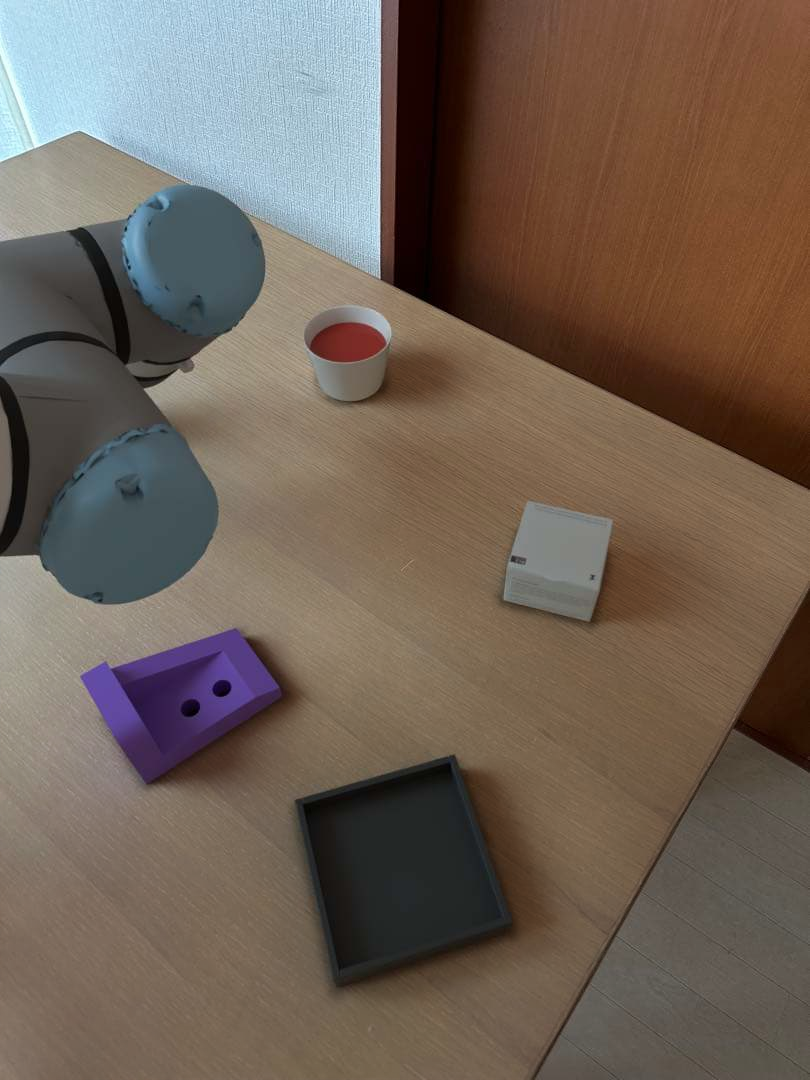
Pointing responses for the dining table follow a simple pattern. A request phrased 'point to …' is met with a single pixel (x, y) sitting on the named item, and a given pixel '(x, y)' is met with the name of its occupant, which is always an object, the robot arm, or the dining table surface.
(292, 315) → the dining table surface
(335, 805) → the black tray
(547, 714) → the dining table surface
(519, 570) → the small box
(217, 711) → the bracket
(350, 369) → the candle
